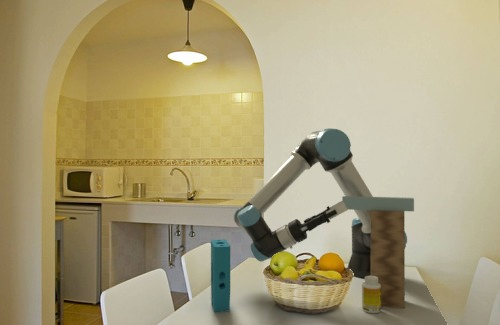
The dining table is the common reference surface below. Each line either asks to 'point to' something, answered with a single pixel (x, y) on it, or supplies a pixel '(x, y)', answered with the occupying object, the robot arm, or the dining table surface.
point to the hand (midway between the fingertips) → (346, 203)
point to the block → (220, 275)
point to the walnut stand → (389, 255)
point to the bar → (379, 203)
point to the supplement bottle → (371, 295)
